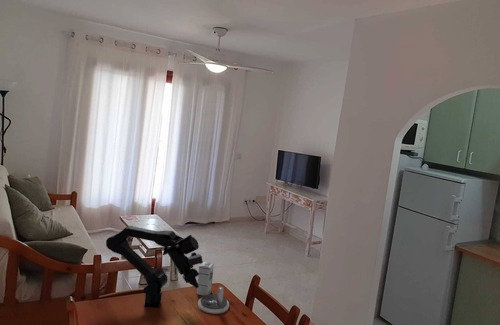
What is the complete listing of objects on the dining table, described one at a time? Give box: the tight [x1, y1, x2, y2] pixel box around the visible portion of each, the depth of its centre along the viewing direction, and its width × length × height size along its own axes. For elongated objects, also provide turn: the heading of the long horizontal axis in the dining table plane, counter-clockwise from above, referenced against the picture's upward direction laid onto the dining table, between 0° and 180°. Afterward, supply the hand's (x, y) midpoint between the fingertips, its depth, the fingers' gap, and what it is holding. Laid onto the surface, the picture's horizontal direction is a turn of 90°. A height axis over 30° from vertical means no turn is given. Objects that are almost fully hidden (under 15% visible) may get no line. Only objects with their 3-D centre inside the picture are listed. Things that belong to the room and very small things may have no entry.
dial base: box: [197, 297, 230, 315], centre depth 171 cm, size 14×14×2 cm
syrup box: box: [196, 261, 215, 297], centre depth 182 cm, size 6×6×14 cm
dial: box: [200, 286, 228, 309], centre depth 170 cm, size 12×12×9 cm
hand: (197, 287), depth 165 cm, fingers closed
